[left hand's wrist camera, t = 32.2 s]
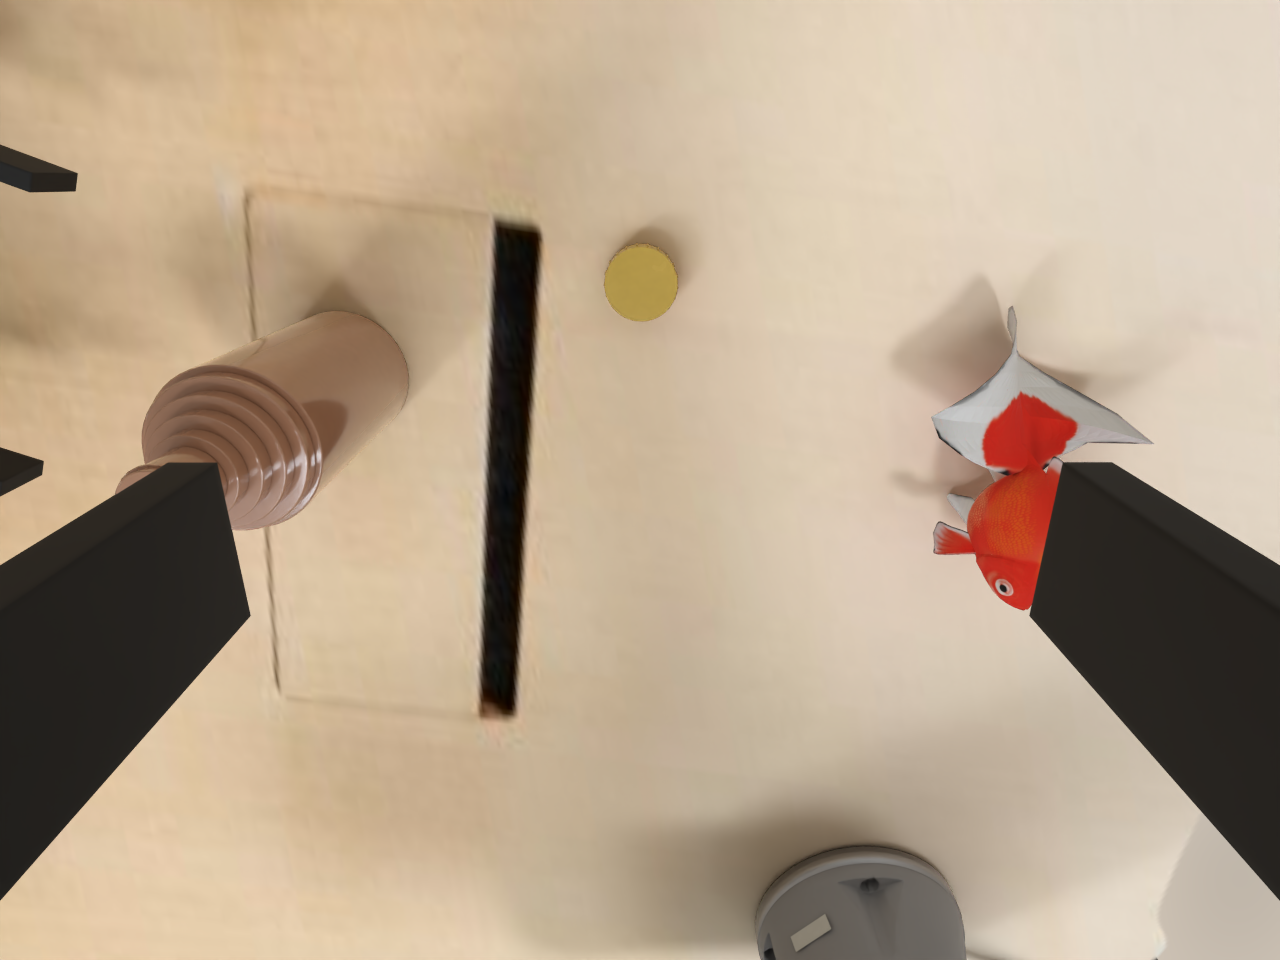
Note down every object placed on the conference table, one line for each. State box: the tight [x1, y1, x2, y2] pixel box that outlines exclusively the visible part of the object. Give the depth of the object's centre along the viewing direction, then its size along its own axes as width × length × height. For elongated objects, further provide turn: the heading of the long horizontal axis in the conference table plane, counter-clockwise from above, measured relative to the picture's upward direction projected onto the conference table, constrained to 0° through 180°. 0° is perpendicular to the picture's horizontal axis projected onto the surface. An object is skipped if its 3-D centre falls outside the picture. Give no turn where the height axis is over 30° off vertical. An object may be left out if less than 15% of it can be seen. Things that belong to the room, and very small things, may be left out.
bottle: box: [115, 311, 409, 530], centre depth 35 cm, size 7×7×18 cm
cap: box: [604, 243, 678, 321], centre depth 41 cm, size 4×4×2 cm
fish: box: [931, 306, 1154, 610], centre depth 41 cm, size 11×16×10 cm
